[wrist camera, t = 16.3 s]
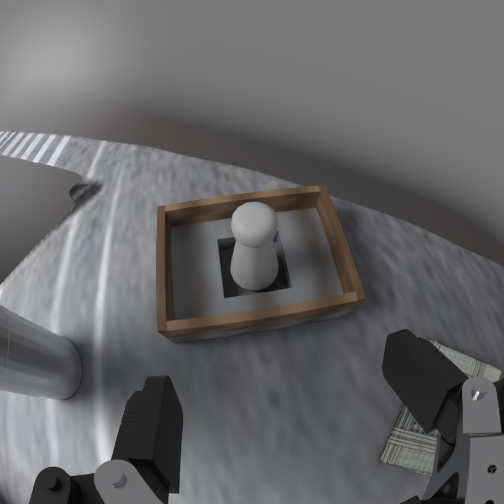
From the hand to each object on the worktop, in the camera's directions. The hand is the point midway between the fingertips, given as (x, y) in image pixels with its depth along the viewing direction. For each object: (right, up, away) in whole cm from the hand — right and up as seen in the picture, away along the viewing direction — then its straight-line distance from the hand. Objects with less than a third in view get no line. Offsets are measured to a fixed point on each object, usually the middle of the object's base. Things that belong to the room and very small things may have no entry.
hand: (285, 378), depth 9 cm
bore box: (-1, +2, +27) cm, 28 cm away
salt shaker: (-1, +1, +27) cm, 27 cm away
